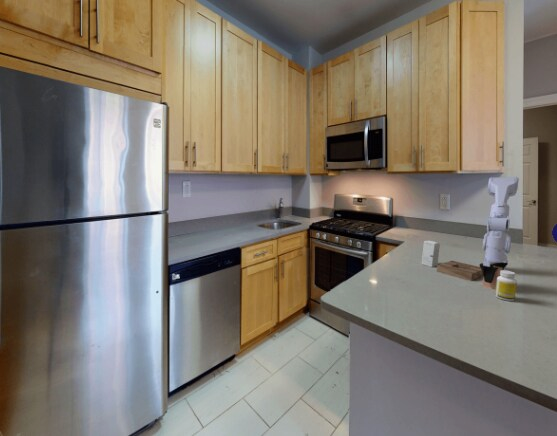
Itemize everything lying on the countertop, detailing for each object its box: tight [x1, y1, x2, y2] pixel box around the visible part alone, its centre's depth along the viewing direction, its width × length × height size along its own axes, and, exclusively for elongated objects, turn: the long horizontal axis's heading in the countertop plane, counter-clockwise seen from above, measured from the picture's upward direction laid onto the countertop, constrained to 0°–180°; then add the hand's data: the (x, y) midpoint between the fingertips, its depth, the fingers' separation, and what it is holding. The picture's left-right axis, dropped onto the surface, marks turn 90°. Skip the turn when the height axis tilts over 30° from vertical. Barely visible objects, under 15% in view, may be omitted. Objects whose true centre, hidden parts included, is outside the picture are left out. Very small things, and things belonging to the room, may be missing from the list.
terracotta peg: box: [482, 266, 502, 290], centre depth 103 cm, size 4×4×8 cm
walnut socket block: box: [436, 260, 483, 282], centre depth 119 cm, size 14×14×3 cm
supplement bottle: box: [494, 269, 518, 302], centre depth 92 cm, size 5×5×10 cm
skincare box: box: [421, 240, 441, 268], centre depth 130 cm, size 6×4×12 cm
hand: (491, 280), depth 103 cm, fingers open, 7 cm apart
